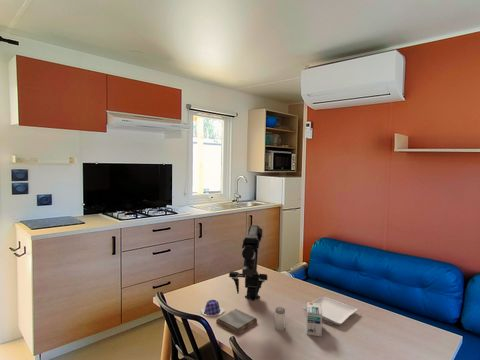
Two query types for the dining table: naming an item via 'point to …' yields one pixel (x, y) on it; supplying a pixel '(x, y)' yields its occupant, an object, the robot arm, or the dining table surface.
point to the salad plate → (334, 310)
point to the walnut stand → (236, 321)
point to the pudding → (212, 308)
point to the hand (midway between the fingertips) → (247, 294)
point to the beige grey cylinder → (279, 318)
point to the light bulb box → (314, 319)
